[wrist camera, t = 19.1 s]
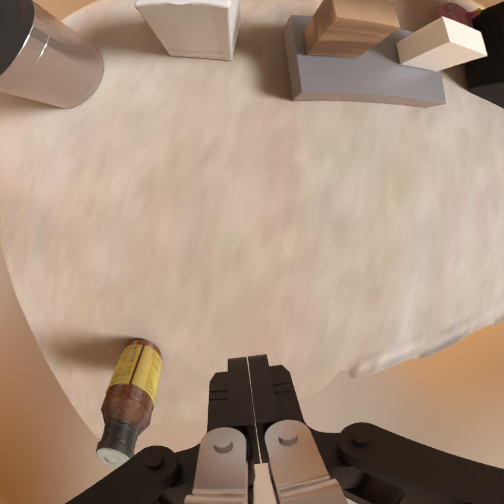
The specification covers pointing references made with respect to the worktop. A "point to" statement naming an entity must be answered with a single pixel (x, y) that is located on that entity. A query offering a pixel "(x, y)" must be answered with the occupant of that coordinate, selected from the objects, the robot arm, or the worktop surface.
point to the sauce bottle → (129, 401)
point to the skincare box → (194, 26)
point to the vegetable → (458, 14)
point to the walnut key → (349, 27)
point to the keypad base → (358, 73)
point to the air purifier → (489, 56)
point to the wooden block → (441, 45)
